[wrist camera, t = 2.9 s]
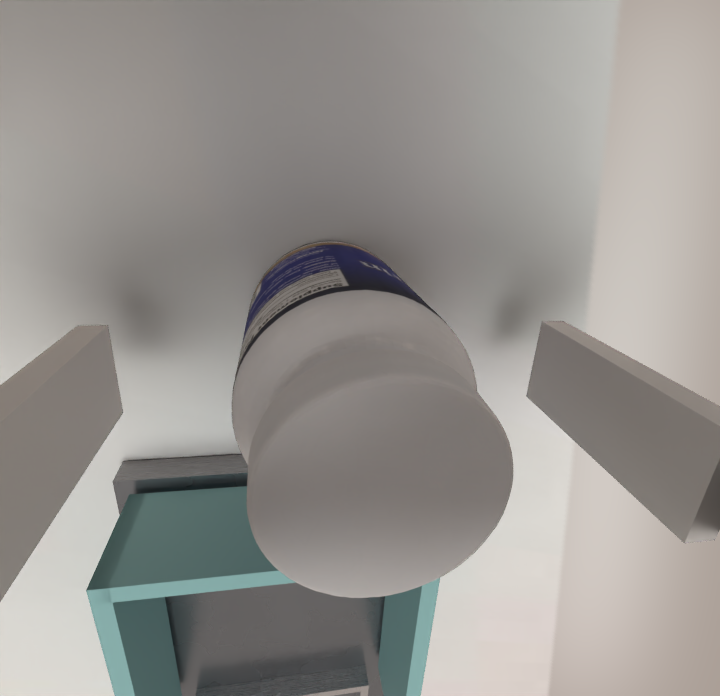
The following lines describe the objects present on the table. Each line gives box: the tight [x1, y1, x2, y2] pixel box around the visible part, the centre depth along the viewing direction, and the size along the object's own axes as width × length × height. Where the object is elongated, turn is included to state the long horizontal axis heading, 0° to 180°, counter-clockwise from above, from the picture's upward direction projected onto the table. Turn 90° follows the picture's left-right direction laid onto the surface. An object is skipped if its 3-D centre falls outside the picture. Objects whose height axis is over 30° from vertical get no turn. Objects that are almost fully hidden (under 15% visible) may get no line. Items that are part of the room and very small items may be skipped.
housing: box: [86, 486, 440, 696], centre depth 18 cm, size 12×11×4 cm
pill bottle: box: [232, 242, 513, 598], centre depth 12 cm, size 6×6×10 cm
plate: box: [113, 454, 385, 696], centre depth 22 cm, size 22×12×2 cm, turn 177°
